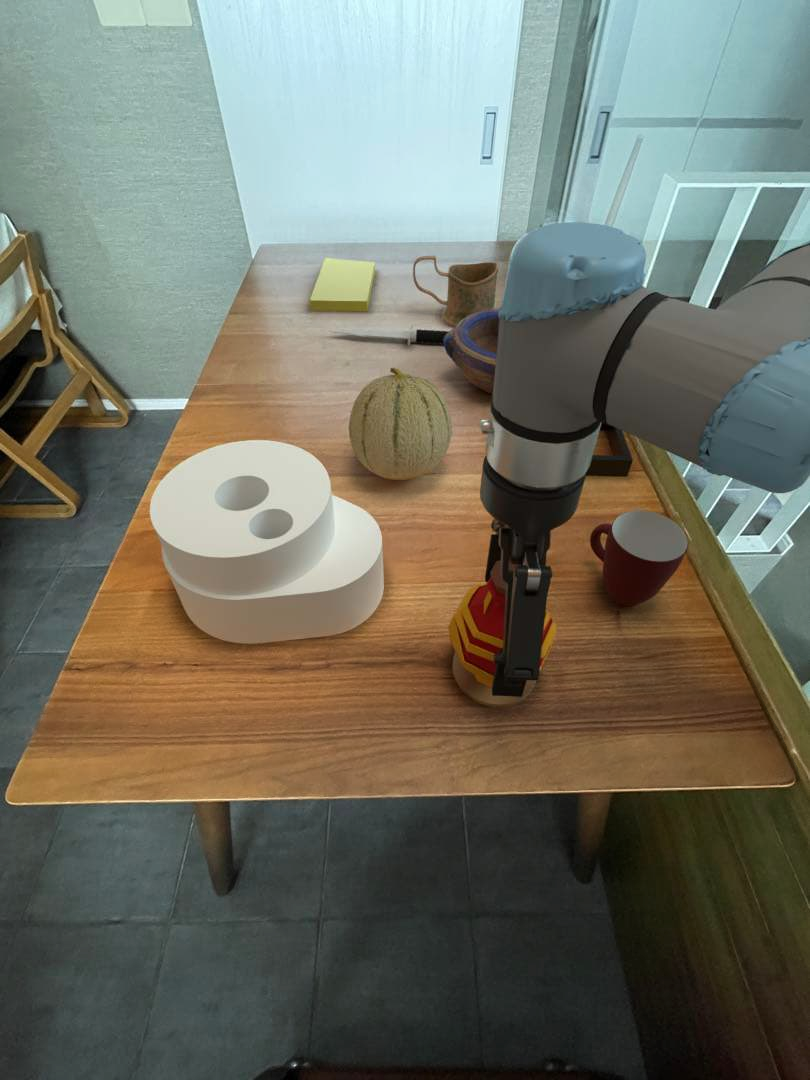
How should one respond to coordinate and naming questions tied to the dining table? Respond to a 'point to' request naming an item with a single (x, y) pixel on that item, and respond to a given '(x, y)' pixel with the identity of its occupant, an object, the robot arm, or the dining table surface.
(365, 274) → the yellow flat block
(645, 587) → the mug
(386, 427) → the cantaloupe
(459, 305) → the mug
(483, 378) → the bowl
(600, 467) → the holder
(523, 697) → the coaster
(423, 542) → the dining table surface
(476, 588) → the potion bottle
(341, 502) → the white stepped block
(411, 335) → the knife
